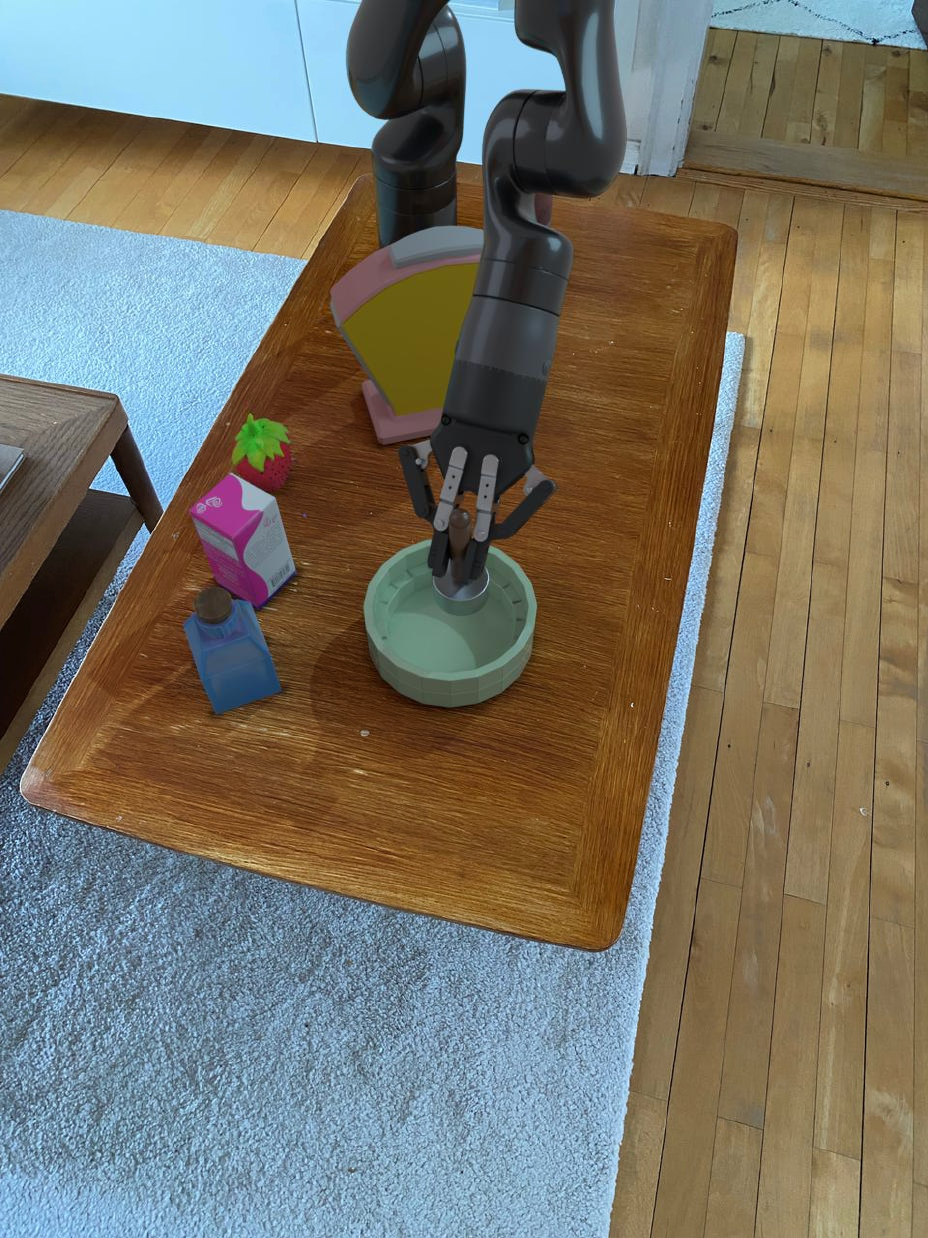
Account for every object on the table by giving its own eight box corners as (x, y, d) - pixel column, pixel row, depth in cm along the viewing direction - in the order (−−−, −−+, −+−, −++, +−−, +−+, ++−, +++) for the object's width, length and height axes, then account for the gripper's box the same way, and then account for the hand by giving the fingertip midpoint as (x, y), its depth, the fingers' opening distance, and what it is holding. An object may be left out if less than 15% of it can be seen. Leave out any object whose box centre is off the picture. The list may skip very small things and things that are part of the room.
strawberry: (229, 504, 102) (208, 436, 93) (259, 454, 106) (242, 385, 97) (280, 518, 101) (263, 450, 92) (309, 467, 105) (295, 398, 96)
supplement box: (253, 545, 99) (231, 469, 89) (298, 573, 97) (279, 497, 87) (213, 583, 96) (186, 508, 87) (258, 612, 94) (235, 539, 85)
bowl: (360, 582, 96) (355, 548, 92) (515, 562, 98) (517, 528, 93) (378, 721, 88) (374, 691, 83) (547, 697, 89) (552, 666, 85)
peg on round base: (429, 575, 86) (424, 493, 77) (483, 567, 86) (484, 484, 77) (438, 620, 83) (434, 540, 74) (493, 612, 84) (496, 531, 74)
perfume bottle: (198, 660, 91) (166, 586, 81) (262, 638, 93) (238, 563, 83) (216, 714, 88) (184, 644, 78) (281, 691, 89) (259, 619, 79)
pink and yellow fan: (523, 359, 114) (535, 190, 96) (548, 414, 109) (565, 246, 91) (339, 395, 111) (316, 227, 93) (356, 453, 106) (335, 287, 88)
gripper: (592, 389, 78) (539, 595, 82) (431, 352, 81) (387, 553, 84) (581, 383, 71) (524, 609, 75) (405, 342, 73) (358, 563, 77)
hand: (452, 578), depth 79 cm, fingers closed on peg on round base
